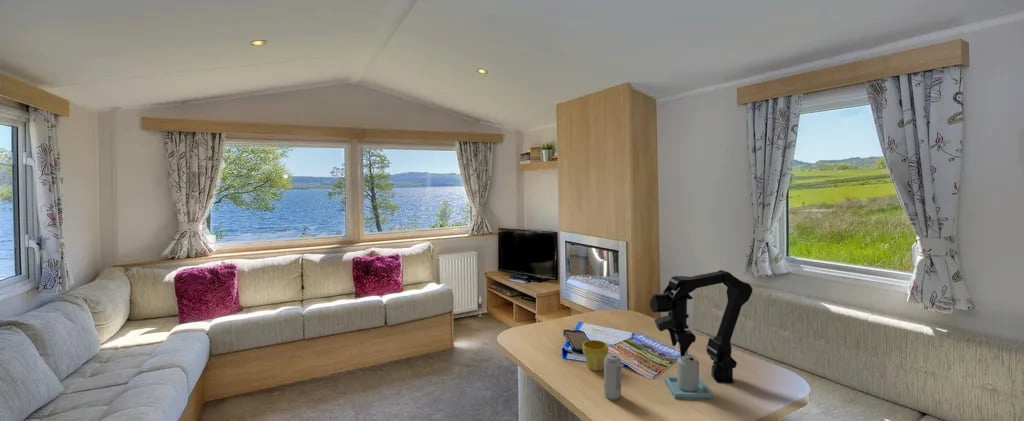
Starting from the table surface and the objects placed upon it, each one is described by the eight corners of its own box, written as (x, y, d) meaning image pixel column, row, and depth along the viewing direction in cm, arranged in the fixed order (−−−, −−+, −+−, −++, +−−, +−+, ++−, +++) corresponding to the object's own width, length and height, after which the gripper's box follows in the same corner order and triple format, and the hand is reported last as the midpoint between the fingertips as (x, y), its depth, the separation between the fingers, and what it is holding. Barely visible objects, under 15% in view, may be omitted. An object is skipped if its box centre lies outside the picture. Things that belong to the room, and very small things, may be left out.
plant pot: (582, 361, 184) (582, 339, 183) (606, 362, 182) (606, 340, 181) (583, 372, 173) (582, 349, 173) (609, 373, 172) (609, 350, 171)
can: (700, 394, 154) (701, 362, 153) (678, 392, 155) (679, 360, 154) (696, 384, 161) (697, 353, 160) (675, 382, 163) (675, 352, 162)
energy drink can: (606, 390, 159) (607, 351, 157) (623, 394, 156) (623, 354, 154) (601, 398, 154) (601, 357, 152) (618, 402, 151) (618, 361, 149)
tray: (699, 381, 164) (699, 377, 164) (712, 399, 151) (712, 394, 151) (664, 380, 165) (664, 376, 165) (674, 398, 152) (674, 393, 152)
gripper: (650, 303, 170) (649, 340, 171) (664, 319, 151) (664, 361, 153) (678, 302, 170) (677, 340, 171) (696, 319, 151) (695, 361, 152)
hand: (678, 350), depth 162 cm, fingers open, 9 cm apart
